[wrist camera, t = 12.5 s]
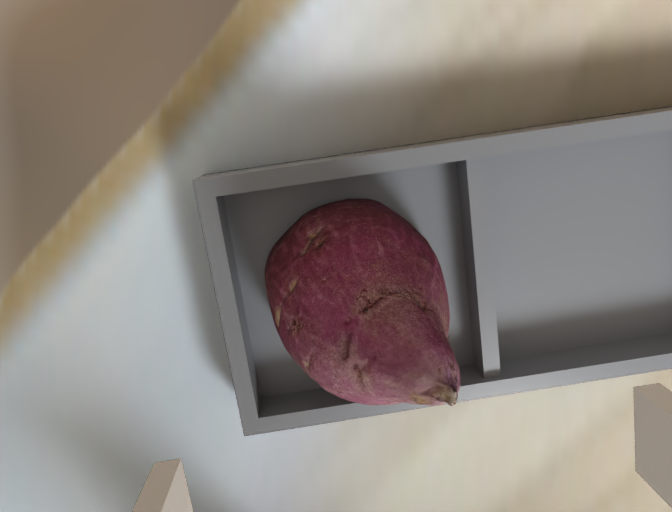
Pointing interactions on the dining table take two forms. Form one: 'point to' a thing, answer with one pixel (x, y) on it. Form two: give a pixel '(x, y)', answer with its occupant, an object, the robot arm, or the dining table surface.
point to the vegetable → (363, 305)
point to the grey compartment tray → (471, 256)
